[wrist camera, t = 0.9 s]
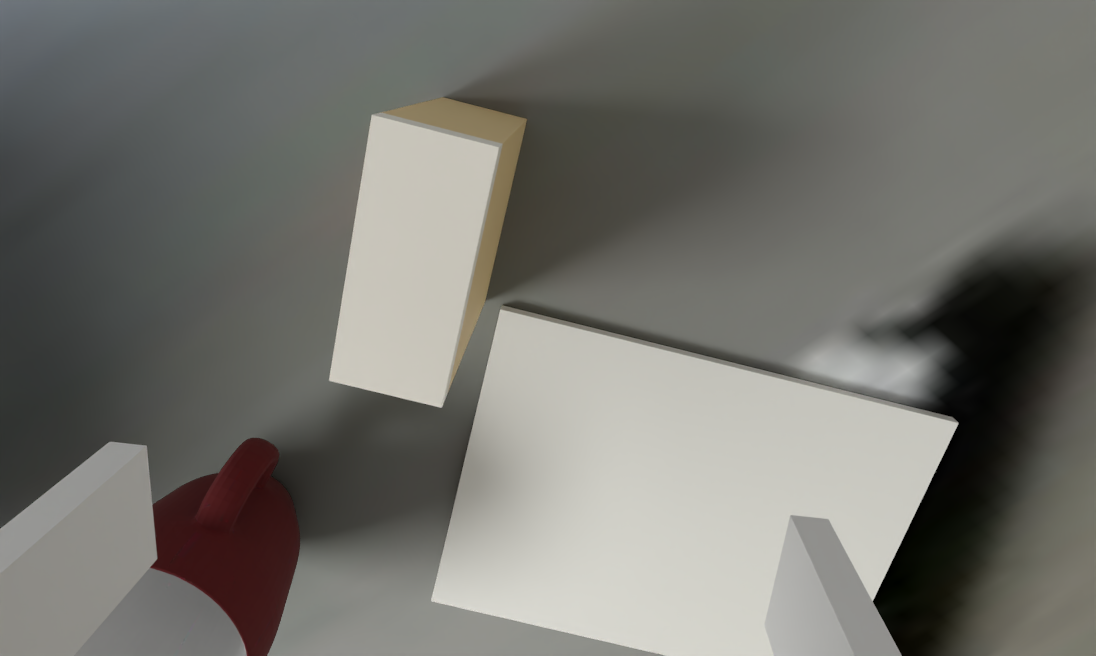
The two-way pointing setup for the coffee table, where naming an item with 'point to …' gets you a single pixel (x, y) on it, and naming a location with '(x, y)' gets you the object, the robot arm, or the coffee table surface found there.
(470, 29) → the coffee table surface
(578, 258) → the coffee table surface
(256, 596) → the mug
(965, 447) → the coffee table surface
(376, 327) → the slab
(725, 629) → the mat
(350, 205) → the coffee table surface
